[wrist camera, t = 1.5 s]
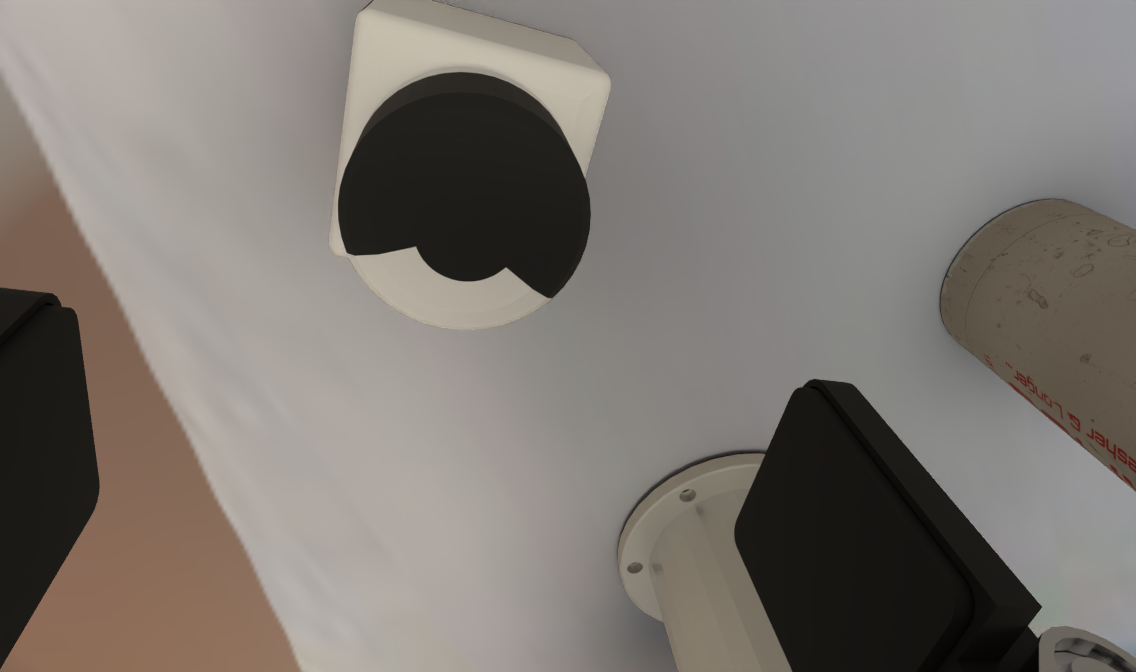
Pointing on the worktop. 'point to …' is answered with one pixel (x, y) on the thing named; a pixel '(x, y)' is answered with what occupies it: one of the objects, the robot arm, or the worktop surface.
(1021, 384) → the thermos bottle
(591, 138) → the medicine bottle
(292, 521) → the worktop surface
